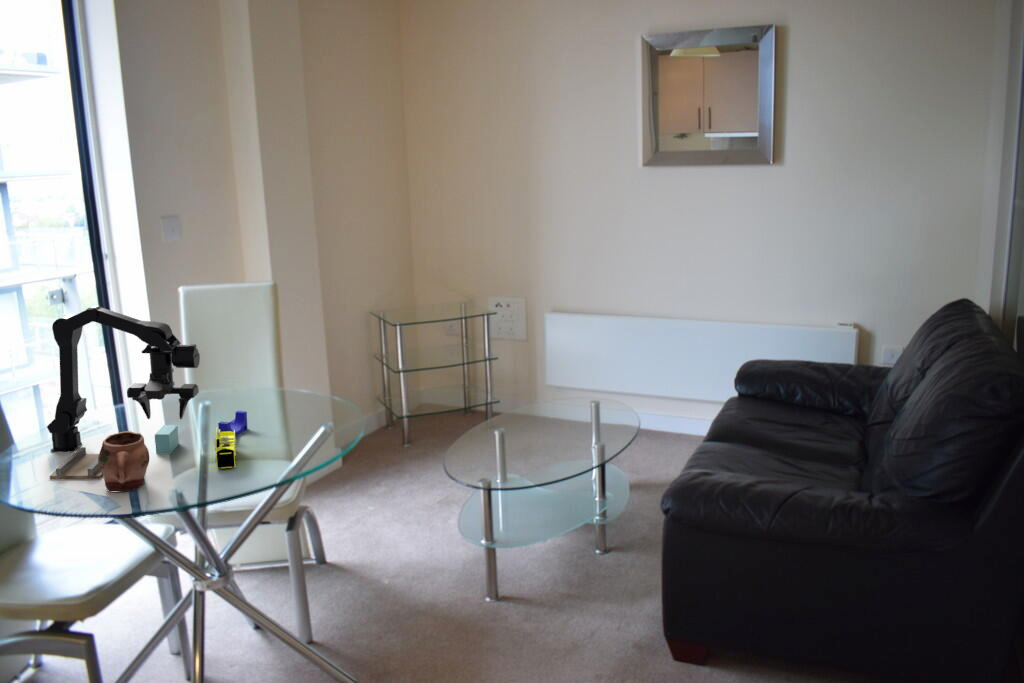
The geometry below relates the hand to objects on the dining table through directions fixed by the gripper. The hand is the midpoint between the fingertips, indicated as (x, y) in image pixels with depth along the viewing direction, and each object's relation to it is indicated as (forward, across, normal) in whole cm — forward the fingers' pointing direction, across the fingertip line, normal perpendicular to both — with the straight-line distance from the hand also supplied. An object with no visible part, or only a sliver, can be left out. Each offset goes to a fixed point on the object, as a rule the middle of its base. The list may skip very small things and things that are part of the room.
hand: (165, 418), depth 254 cm
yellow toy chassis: (+10, +19, -9) cm, 23 cm away
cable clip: (+10, +16, +12) cm, 22 cm away
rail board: (+9, -17, -15) cm, 24 cm away
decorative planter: (+10, -1, -29) cm, 30 cm away
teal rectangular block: (+9, 0, 0) cm, 9 cm away
